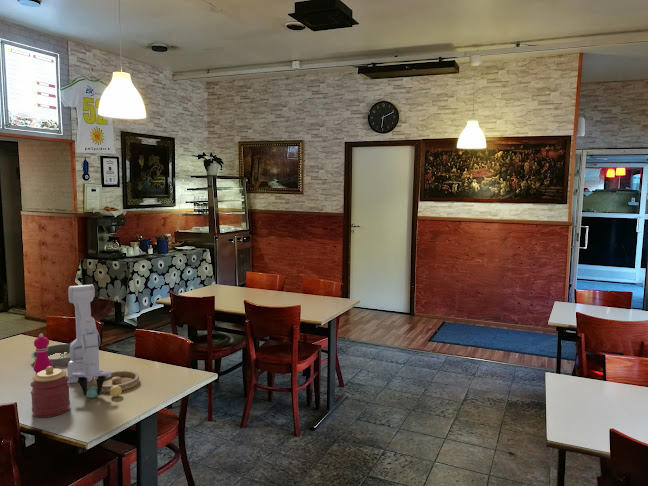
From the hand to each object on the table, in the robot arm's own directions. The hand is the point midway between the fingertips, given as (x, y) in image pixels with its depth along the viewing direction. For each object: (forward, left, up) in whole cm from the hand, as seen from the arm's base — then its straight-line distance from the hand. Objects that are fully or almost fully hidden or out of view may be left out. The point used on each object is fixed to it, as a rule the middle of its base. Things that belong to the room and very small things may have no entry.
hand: (92, 394), depth 202 cm
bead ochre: (+9, 0, -1) cm, 9 cm away
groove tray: (+6, +13, -1) cm, 15 cm away
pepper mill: (-29, +27, -2) cm, 40 cm away
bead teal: (0, 0, -1) cm, 1 cm away
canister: (-12, -11, -2) cm, 16 cm away
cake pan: (-30, +51, -2) cm, 60 cm away
